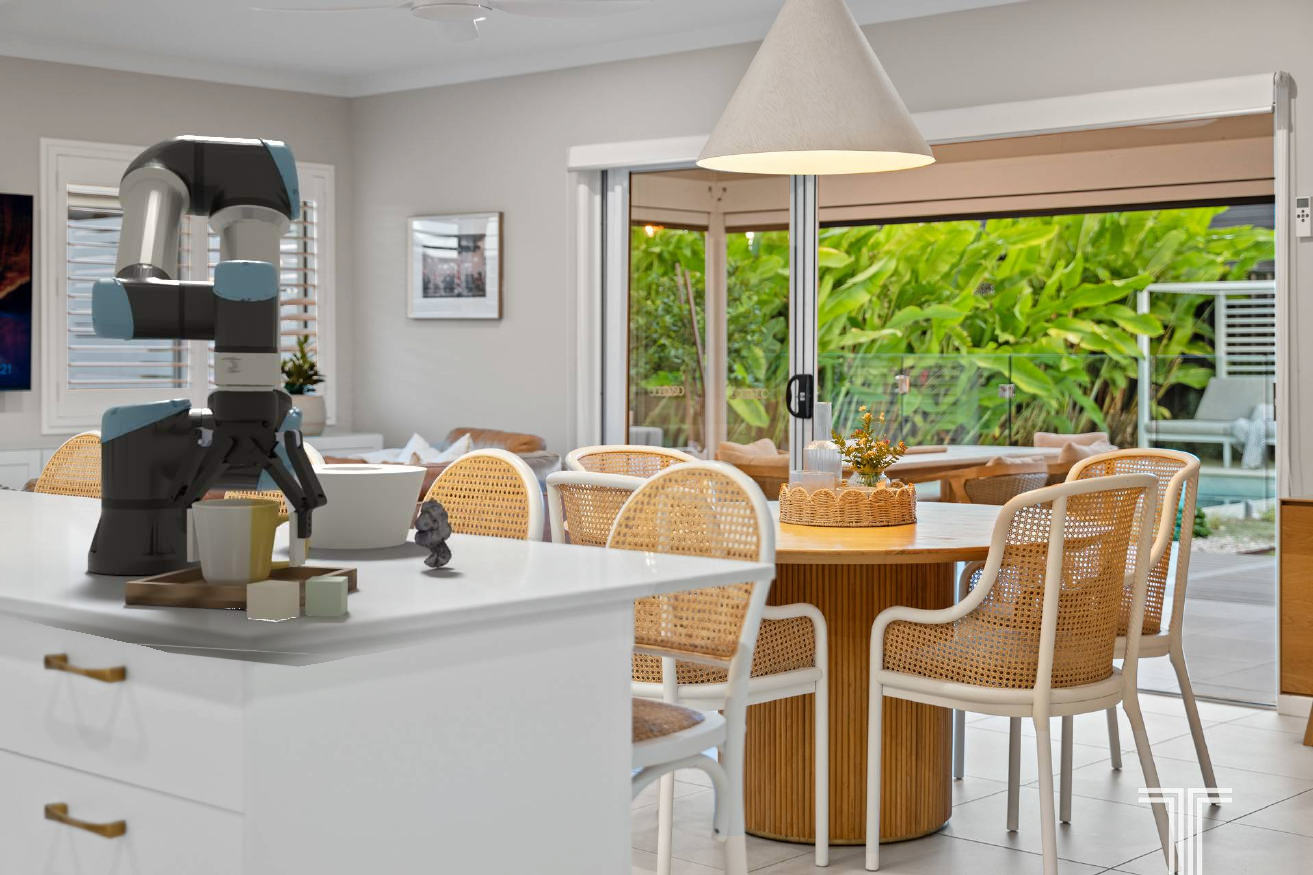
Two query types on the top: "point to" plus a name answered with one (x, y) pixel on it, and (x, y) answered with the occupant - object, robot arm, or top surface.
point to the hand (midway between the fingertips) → (246, 563)
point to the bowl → (364, 505)
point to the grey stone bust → (433, 533)
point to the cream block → (273, 600)
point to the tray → (218, 587)
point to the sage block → (326, 596)
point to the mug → (238, 539)
